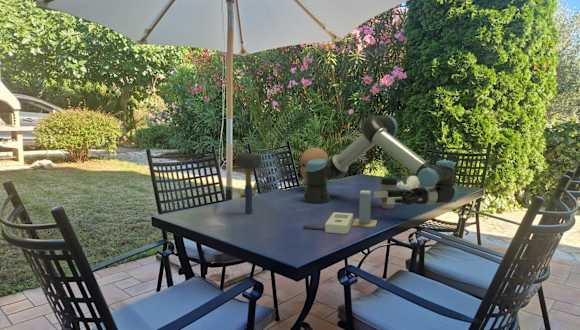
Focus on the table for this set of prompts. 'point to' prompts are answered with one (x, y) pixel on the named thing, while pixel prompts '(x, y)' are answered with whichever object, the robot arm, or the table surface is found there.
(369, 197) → the pale grey tall block
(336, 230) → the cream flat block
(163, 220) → the table surface
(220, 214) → the table surface
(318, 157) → the mannequin head
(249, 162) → the rubber mallet
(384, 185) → the coffee cup
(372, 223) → the coaster
